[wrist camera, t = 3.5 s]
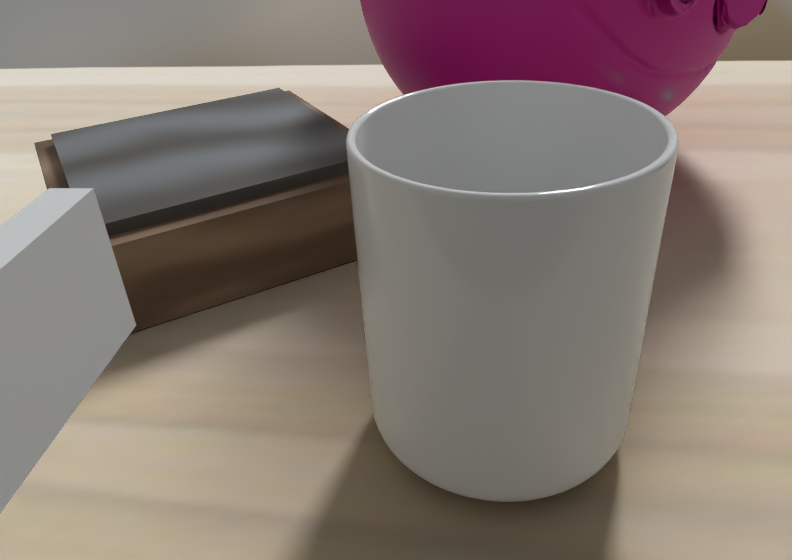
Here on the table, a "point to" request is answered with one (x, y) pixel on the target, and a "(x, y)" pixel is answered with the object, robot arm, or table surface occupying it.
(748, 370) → the table surface
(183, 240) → the walnut plinth
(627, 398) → the mug
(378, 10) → the figurine
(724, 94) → the table surface
